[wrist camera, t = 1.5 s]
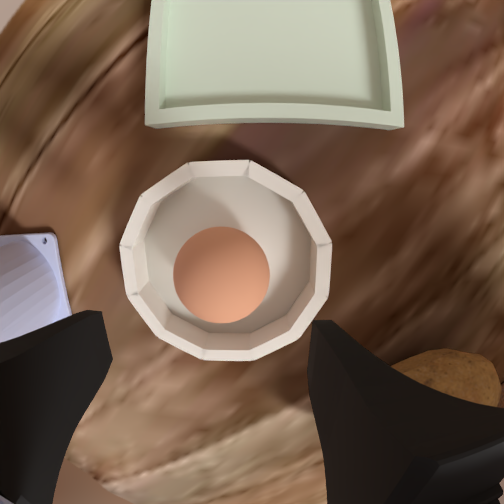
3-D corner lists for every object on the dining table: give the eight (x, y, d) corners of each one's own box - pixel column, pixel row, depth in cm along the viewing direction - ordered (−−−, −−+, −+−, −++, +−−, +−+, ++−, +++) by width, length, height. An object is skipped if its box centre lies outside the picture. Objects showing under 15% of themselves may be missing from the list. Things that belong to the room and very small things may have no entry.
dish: (149, 336, 21) (138, 355, 18) (129, 167, 17) (113, 168, 15) (315, 338, 20) (322, 358, 18) (324, 161, 17) (334, 161, 15)
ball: (188, 298, 19) (168, 340, 14) (182, 219, 18) (155, 240, 13) (268, 298, 19) (271, 342, 14) (268, 218, 18) (272, 238, 13)
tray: (156, 128, 17) (144, 125, 15) (165, -29, 13) (157, -43, 11) (390, 130, 16) (404, 127, 15) (371, -25, 13) (381, -39, 11)
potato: (293, 385, 22) (304, 470, 14) (456, 298, 20) (518, 351, 12) (336, 447, 24) (351, 515, 16) (467, 377, 22) (509, 430, 14)
